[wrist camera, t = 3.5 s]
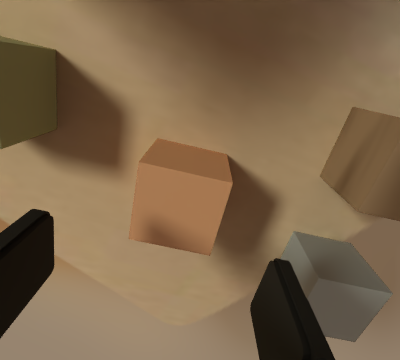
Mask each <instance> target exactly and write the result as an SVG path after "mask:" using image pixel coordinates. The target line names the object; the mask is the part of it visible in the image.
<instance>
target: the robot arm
mask: <svg viewBox="0 0 400 360" xmlns="http://www.w3.org/2000/svg"><path fill="white" fill-rule="evenodd" d="M53 269H54V220H53V217H52V216H50V213H49V212H47V211H42V210H37V209H32V210H30V211H29V212H27V213H26V214H25V215H23V216H22V217H21V218H19V219H18V220H17V221H15V222H14V223H13V224H11V225H10V226H9V227H8V228H6V229H5V230H4V231H2V232H1V233H0V338H1V336H3V334H4V333H5V331H6V330H7V329H8V328H9V327H10V325H11V324H12V323H13V322H14V320H15V319H16V318H17V317H18V315H19V314H20V313H21V311H22V310H23V309H24V308H25V306H26V305H27V304H28V302H29V301H30V300H31V299H32V297H33V296H34V295H35V294H36V292H37V291H38V290H39V288H40V287H41V286H42V285H43V283H44V282H45V281H46V280H47V278H48V277H49V276H50V274H51V273H52V271H53ZM250 311H251V316H252V322H253V327H254V332H255V338H256V343H257V348H258V354H259V359H260V360H335V358H334V356H333V354H332V352H331V349H330V347H329V345H328V343H327V341H326V338H325V336H324V334H323V332H322V330H321V327H320V325H319V323H318V321H317V319H316V316H315V314H314V312H313V310H312V308H311V305H310V303H309V301H308V299H307V298H306V296H305V294H304V292H303V290H302V287H301V285H300V283H299V281H298V278H297V276H296V274H295V272H294V270H293V267H292V265H291V263H290V262H289V261H287V260H282V259H277V258H275V259H274V261H270V262H269V264H268V266H267V269H266V271H265V273H264V275H263V278H262V280H261V282H260V284H259V287H258V289H257V291H256V293H255V296H254V298H253V300H252V302H251V308H250Z"/></svg>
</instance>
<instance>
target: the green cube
mask: <svg viewBox="0 0 400 360" xmlns="http://www.w3.org/2000/svg"><path fill="white" fill-rule="evenodd" d="M56 129H57V91H56V50H54V49H50V48H46V47H42V46H38V45H34V44H30V43H26V42H22V41H18V40H14V39H10V38H6V37H2V36H0V149H3V148H6V147H9V146H11V145H14V144H17V143H20V142H22V141H25V140H28V139H31V138H34V137H36V136H39V135H42V134H45V133H47V132H50V131H53V130H56Z"/></svg>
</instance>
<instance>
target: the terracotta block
mask: <svg viewBox="0 0 400 360" xmlns="http://www.w3.org/2000/svg"><path fill="white" fill-rule="evenodd" d="M232 185H233V181H232V176H231V172H230V167H229V162H228V158H227V154H223V153H219V152H214V151H210V150H206V149H202V148H197V147H193V146H189V145H184V144H180V143H176V142H171V141H167V140H163V139H159V138H158V139H157V140H156V141H155V142H154V144H153V145H152V146H151V147H150V149H149V150H148V151H147V152H146V153H145V155H144V156H143V157H142V158H141V160H140V161H139V164H138V171H137V179H136V187H135V194H134V202H133V209H132V217H131V225H130V232H129V239H132V240H136V241H141V242H146V243H151V244H156V245H161V246H165V247H170V248H175V249H180V250H185V251H190V252H195V253H199V254H204V255H209V256H210V254H211V251H212V248H213V245H214V242H215V239H216V235H217V232H218V229H219V226H220V223H221V220H222V216H223V213H224V210H225V207H226V204H227V201H228V197H229V194H230V191H231V188H232Z"/></svg>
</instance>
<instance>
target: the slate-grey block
mask: <svg viewBox="0 0 400 360" xmlns="http://www.w3.org/2000/svg"><path fill="white" fill-rule="evenodd" d="M281 259H282V260H287V261H289V262H290V263H291V265H292V267H293V270H294V272H295V274H296V276H297V278H298V281H299V283H300V285H301V287H302V290H303V292H304V294H305V296H306V298H307V299H308V301H309V303H310V305H311V308H312V310H313V312H314V314H315V316H316V319H317V321H318V323H319V325H320V327H321V330H322V332H323V334H324V336H326V337H332V338H337V339H342V340H347V341H353V342H355V341H356V340H357V338H358V337H359V336H360V335H361V333H362V332H363V331H364V330H365V328H366V327H367V326H368V325H369V323H370V322H371V321H372V319H373V318H374V317H375V316H376V315H377V313H378V312H379V311H380V309H381V308H382V307H383V305H384V304H385V303H386V302H387V300H388V299H389V298H390V297H391V296H392V294H393V293H392V292H391V291H390V290H389V288H388V287H387V286H386V285H385V284H384V282H383V281H382V280H381V279H380V278H379V276H378V275H377V274H376V273H375V272H374V270H373V269H372V268H371V267H370V266H369V264H368V263H367V262H366V261H365V260H364V259H363V257H362V256H361V255H360V254H359V252H358V251H357V250H356V249H355V248H354V246H353V245H352V244H351V243H348V242H341V241H336V240H332V239H327V238H323V237H318V236H314V235H309V234H305V233H300V232H296V231H293V234H292V236H291V238H290V240H289V242H288V244H287V246H286V248H285V250H284V252H283V254H282V256H281Z"/></svg>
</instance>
